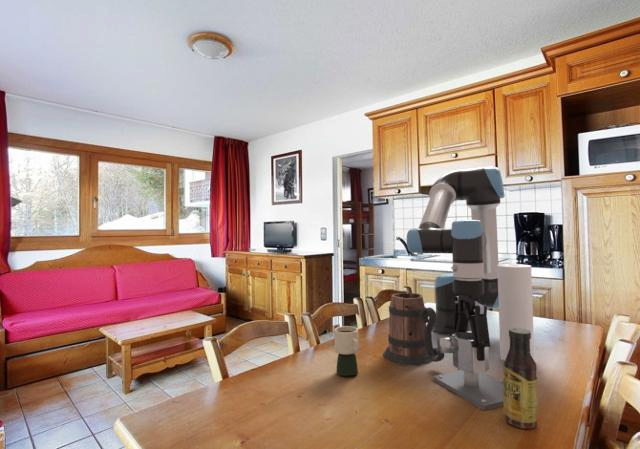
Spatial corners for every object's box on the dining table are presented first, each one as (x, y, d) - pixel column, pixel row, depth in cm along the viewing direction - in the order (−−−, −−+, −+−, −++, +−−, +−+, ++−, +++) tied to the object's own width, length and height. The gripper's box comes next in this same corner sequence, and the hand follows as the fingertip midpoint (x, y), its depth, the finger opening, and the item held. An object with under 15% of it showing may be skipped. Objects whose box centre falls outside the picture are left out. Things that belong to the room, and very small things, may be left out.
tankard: (372, 352, 119) (371, 293, 120) (411, 344, 127) (410, 289, 127) (419, 377, 98) (417, 306, 99) (463, 366, 105) (461, 300, 106)
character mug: (368, 377, 99) (367, 331, 99) (347, 383, 95) (346, 336, 95) (346, 365, 108) (345, 323, 108) (327, 370, 105) (326, 326, 105)
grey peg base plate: (432, 379, 97) (432, 357, 97) (472, 371, 101) (471, 350, 102) (484, 410, 80) (483, 383, 80) (528, 398, 85) (527, 373, 85)
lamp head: (477, 360, 95) (477, 331, 96) (494, 372, 87) (492, 340, 88) (434, 362, 95) (434, 332, 95) (447, 374, 87) (446, 341, 87)
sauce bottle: (497, 416, 77) (494, 326, 78) (524, 414, 78) (521, 324, 78) (516, 433, 71) (513, 334, 71) (545, 430, 71) (542, 333, 72)
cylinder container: (539, 365, 105) (536, 265, 105) (505, 363, 107) (502, 265, 107) (527, 354, 114) (524, 262, 115) (496, 353, 116) (493, 262, 116)
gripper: (438, 274, 102) (441, 352, 101) (473, 285, 81) (476, 383, 81) (463, 273, 102) (466, 351, 102) (504, 284, 81) (508, 382, 81)
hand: (470, 365), depth 91 cm, fingers closed on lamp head, 8 cm apart
